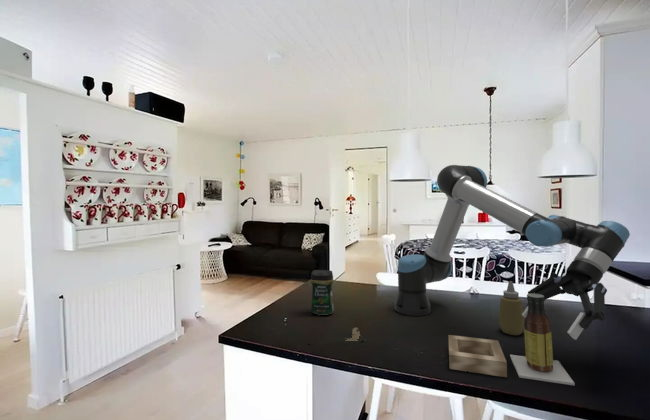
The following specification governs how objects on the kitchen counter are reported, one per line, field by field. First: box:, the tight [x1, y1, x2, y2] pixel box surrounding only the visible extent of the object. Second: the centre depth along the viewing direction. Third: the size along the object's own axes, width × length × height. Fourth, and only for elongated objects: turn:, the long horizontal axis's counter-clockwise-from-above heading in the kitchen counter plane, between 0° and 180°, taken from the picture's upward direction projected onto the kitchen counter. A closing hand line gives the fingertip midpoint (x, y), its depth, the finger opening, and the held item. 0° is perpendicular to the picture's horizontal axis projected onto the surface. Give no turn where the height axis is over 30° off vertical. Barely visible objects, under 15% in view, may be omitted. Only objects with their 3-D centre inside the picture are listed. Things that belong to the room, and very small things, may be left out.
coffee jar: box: [310, 269, 335, 314], centre depth 135 cm, size 10×8×19 cm
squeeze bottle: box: [498, 280, 525, 336], centre depth 111 cm, size 8×8×18 cm
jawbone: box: [345, 327, 361, 341], centre depth 107 cm, size 9×20×2 cm, turn 119°
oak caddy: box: [448, 334, 508, 378], centre depth 92 cm, size 14×14×4 cm
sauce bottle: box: [523, 293, 554, 372], centre depth 86 cm, size 6×6×20 cm
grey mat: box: [509, 354, 575, 386], centre depth 86 cm, size 12×12×1 cm
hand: (546, 326), depth 86 cm, fingers open, 13 cm apart
